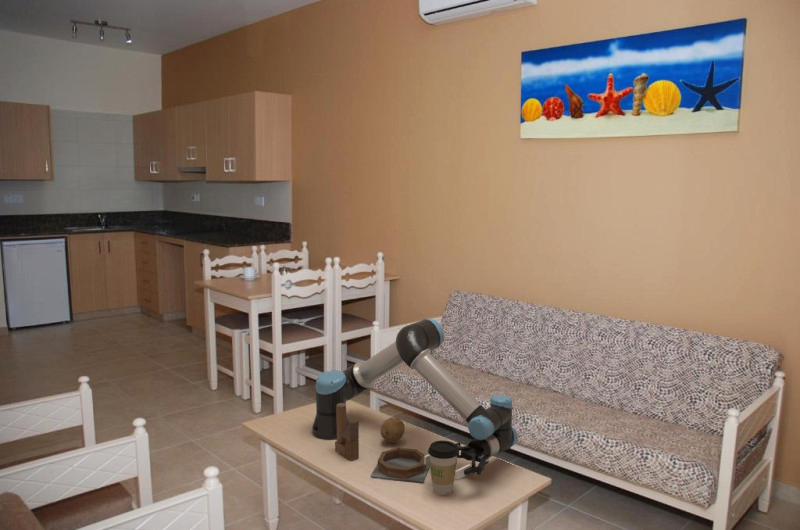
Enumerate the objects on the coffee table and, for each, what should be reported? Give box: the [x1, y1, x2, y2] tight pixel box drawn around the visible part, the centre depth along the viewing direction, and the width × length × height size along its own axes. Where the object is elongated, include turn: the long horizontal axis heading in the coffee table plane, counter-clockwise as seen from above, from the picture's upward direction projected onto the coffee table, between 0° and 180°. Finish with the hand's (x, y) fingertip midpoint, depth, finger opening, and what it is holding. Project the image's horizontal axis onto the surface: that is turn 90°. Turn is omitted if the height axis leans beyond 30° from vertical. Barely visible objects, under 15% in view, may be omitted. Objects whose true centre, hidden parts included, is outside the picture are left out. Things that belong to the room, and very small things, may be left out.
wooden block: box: [334, 403, 360, 461], centre depth 220 cm, size 4×11×18 cm, turn 38°
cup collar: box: [370, 447, 430, 484], centre depth 210 cm, size 18×18×4 cm
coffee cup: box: [427, 440, 460, 496], centre depth 194 cm, size 10×10×15 cm
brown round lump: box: [380, 417, 406, 444], centre depth 230 cm, size 9×9×10 cm
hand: (439, 467), depth 193 cm, fingers open, 13 cm apart
